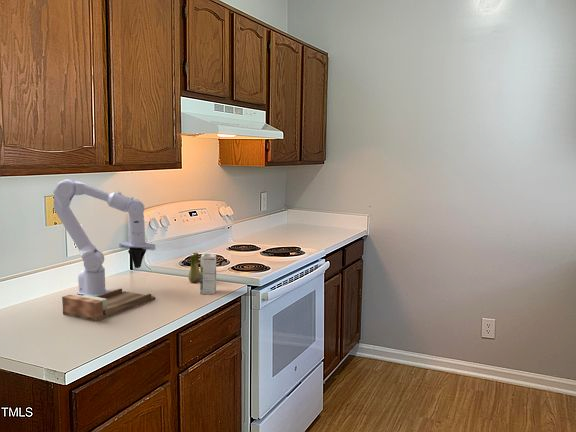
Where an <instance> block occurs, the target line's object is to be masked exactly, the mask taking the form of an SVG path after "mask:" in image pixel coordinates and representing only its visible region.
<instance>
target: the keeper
mask: <svg viewBox="0 0 576 432" xmlns="http://www.w3.org/2000/svg"><path fill="white" fill-rule="evenodd" d="M79 296H80V297H85V298H90V299H96V300H101V301H103V310H105V309H107V299H105V298H100V297H94V296H89V295H79Z"/></svg>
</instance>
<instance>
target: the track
mask: <svg viewBox="0 0 576 432" xmlns="http://www.w3.org/2000/svg"><path fill="white" fill-rule="evenodd" d="M110 291H111V290H110ZM80 296H81V295H79V296H78V295H73V294H65V295H63V296H61V300H62V315H64V316H69V317H74V318H79V319H83V320H88V321H92V322H98V321H102V320H104V319H107V318H110V317H112V316H115V315H117V314H120V313H123V312H125V311H128V310H130V309H133V308H136V307H138V306H141V305H144V304H147V303H149V302H151V301H155V300H156V296H153V295H152V293H147V294H143V293H142V294H141V293H137V292H131V291H123V288H118V289H115V290H112V291H111V292H108V293H105V294H102V295H99V296H95V297H100V298H105V299H107V309H105V310H103V301H101V300H96V299H90V298H85V297H80Z"/></svg>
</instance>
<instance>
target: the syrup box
mask: <svg viewBox="0 0 576 432" xmlns="http://www.w3.org/2000/svg"><path fill="white" fill-rule="evenodd" d="M199 271H200V281H199V283H200V284H199V285H200V286H199V287H200V289H199V290H200V291H199V292H200V295H215V294H216V291H217V254H216V253H201V256H200V266H199Z"/></svg>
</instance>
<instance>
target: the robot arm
mask: <svg viewBox="0 0 576 432" xmlns="http://www.w3.org/2000/svg"><path fill="white" fill-rule="evenodd" d="M82 195H85V196H90V197H92V198H94V199H98V200H100V201H104V202H106V204H108V205H107V206H108V207H110V208H113V209H116V210H118V211H120V212H123V213H128V241H121V242H118V244H119V245H118V248H119V249H124V248H125V249H128V250H127V252H128V254H129V256H130V258H131V260H132V262H133V266H134V268H135V269H140V268H141V267H142V262H143V259H144V256H145V254H146V252H147V250H148V251H155V250H156V244H155V243H149V242H148V243H147V242H146V240H145V239H146V237H145V227H146V226H145V219H144V218H145V215H144V212H145V205H144V203H143V202H142V201H141V200H139V199H137V198H136V199H134V197H132V196H131V197H129V196H127V195H124V194H122V191H118V192H116V191H114V192H111V193H109V192H107V191H104V190H102V189H99V188H97V187H95V186H93V185H90V184H88V183H85V182H82V181H79V180H74V179H71V178H65V179H64V180H61V181H58V183H57V184H56V186H55V188H54V190H53V211H54V212H55V213H56V215H57V217H58V218H59V220H60V221H61V223H62V225H63V227H64V229H65V231H67V232H68V235H69V236H70V238H71V239H72V241H73V242H74V244H75V247H77V249H78V251H79V253H80V256H81V259H82V261H83V267H84V269H81V271H79V274H78V276H77V277H78V278H77V281H78V282H77V283H78V292H77V295H80V296H83V295H89V296H94V297H95V296H99V295H102V294H105V293H108V292H111V290H108V289H106V272H105V271H106V268H105V267H104V266H103V264H104V262H105V255H104V254H103V252H101V251H99V250H98V249H97V247H96V245H94V244H93V243H92V241H91V240H90V239H89V237H88V235H87V234H86V231H85V230H84V229H83V227H82V225H81V223H79V221H78V219H77V218H76V216H75V214H74V213H73V210H72V209H71V208H70V205H71V202H72V200H73V198H74V197H75V196H82Z"/></svg>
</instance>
